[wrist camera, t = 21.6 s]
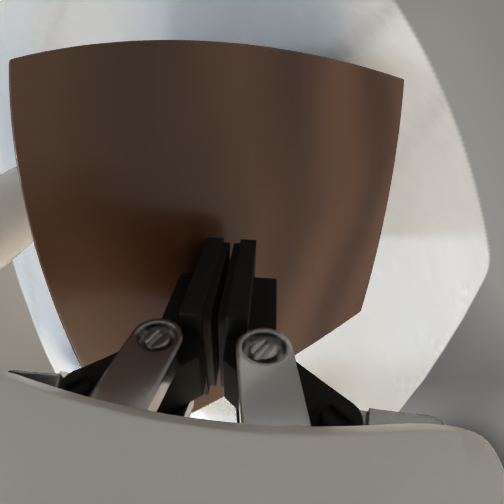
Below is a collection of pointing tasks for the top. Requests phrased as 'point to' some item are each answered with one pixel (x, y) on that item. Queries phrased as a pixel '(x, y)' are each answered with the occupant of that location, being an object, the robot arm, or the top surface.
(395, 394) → the top surface
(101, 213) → the bin lid
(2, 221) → the milk bottle
